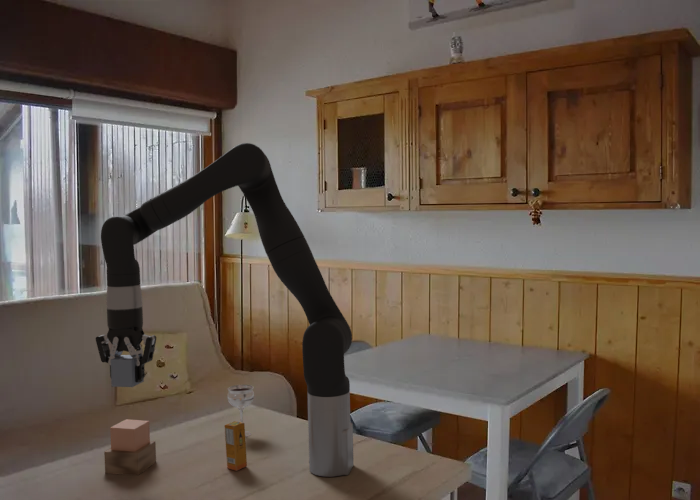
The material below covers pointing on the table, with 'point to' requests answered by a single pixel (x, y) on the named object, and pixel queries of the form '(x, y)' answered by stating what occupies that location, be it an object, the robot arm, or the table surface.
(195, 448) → the table surface
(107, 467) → the base block
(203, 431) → the table surface
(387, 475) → the table surface
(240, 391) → the wineglass
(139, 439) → the top block
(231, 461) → the supplement box
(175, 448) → the table surface
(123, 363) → the slate block
